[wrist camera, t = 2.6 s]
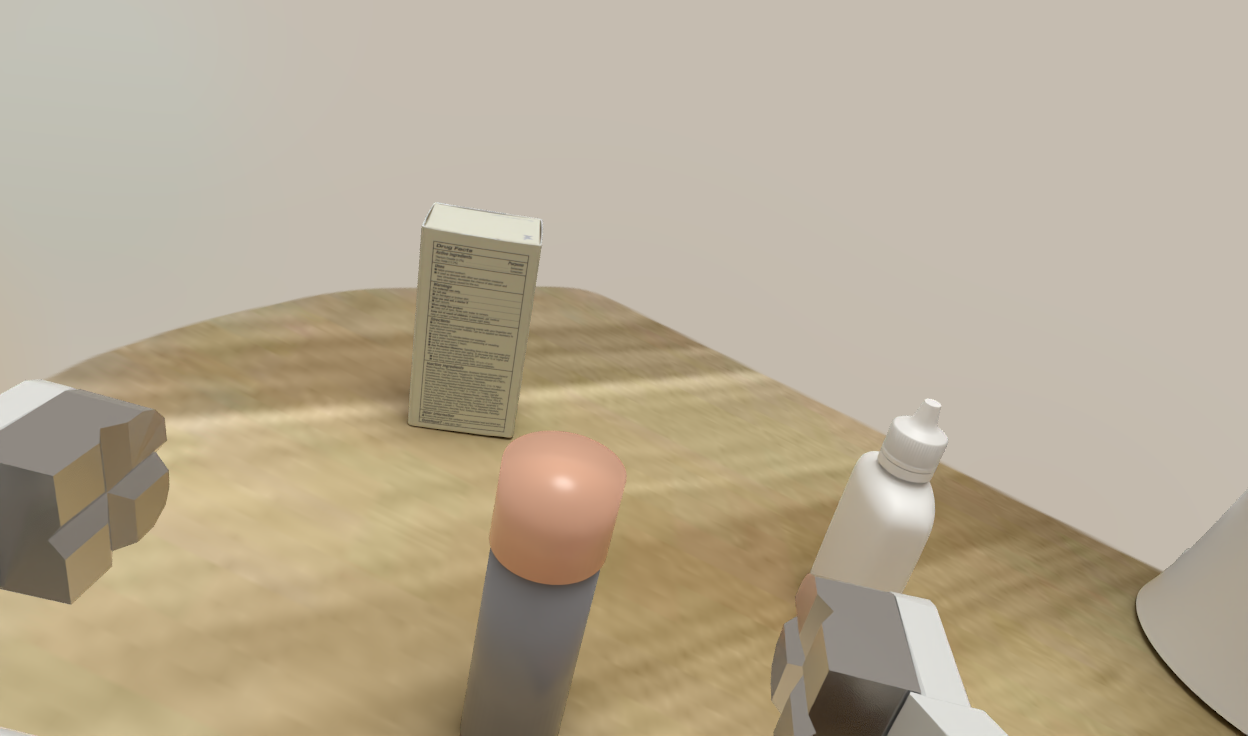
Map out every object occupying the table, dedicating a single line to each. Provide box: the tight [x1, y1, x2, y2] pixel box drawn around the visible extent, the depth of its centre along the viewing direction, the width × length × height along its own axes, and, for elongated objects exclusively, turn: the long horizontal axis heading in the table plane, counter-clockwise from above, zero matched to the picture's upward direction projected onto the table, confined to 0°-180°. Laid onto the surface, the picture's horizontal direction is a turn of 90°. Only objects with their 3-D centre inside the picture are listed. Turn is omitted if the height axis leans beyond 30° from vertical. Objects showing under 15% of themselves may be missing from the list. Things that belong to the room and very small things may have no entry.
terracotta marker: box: [460, 431, 626, 736], centre depth 27 cm, size 4×4×12 cm
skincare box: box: [408, 202, 543, 438], centre depth 45 cm, size 6×4×12 cm
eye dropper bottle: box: [810, 399, 948, 594], centre depth 36 cm, size 4×6×12 cm
